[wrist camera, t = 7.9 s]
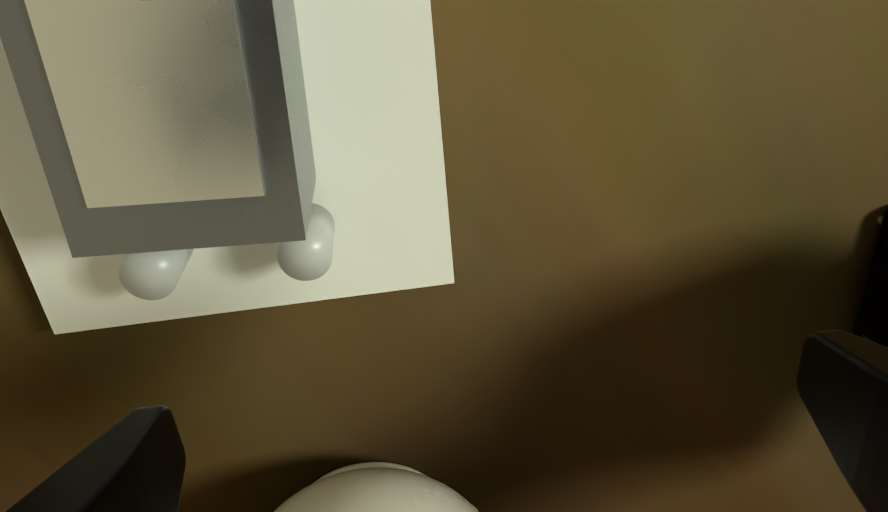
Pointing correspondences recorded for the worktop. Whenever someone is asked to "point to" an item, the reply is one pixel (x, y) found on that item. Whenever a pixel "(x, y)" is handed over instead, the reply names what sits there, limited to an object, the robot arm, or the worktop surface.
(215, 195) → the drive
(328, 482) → the lidded jar
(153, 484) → the robot arm
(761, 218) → the worktop surface
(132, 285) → the white peg board
